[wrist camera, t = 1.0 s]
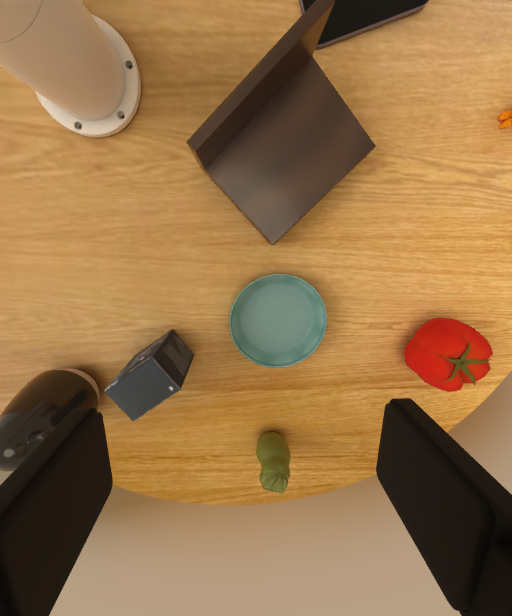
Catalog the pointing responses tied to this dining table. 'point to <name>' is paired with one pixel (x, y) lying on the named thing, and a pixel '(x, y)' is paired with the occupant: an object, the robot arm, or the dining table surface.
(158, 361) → the box
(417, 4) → the smartphone
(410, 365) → the tomato
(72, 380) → the dark brown egg shape
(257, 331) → the saucer
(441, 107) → the dining table surface
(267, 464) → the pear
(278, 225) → the shelf
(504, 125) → the toy figure
